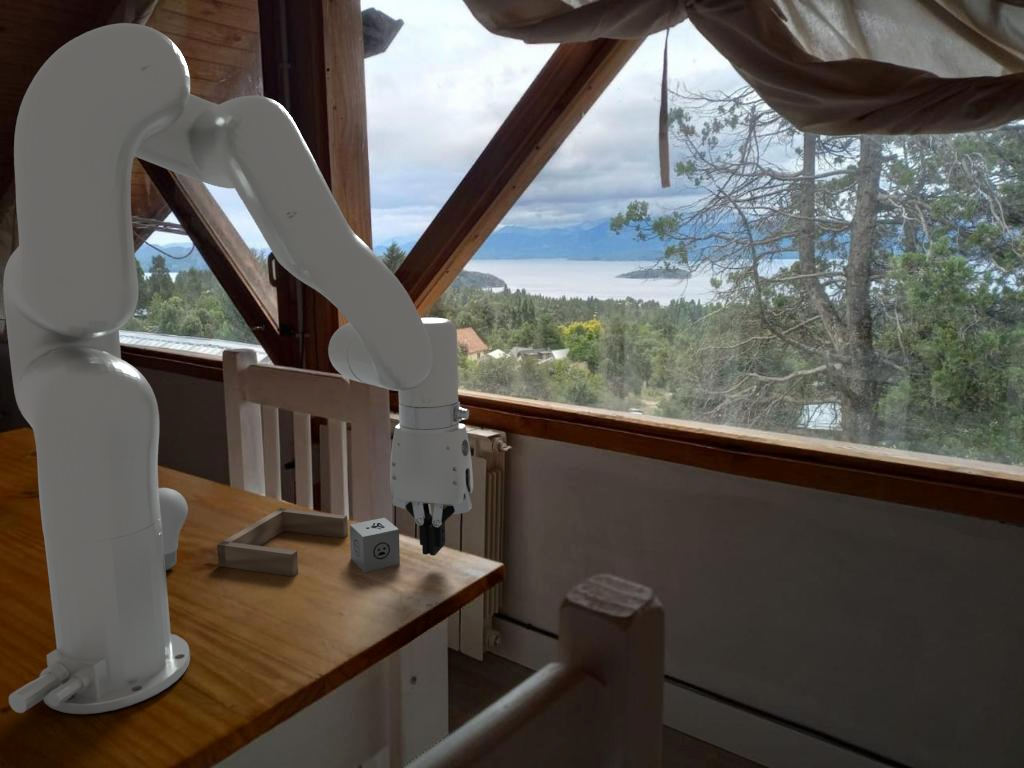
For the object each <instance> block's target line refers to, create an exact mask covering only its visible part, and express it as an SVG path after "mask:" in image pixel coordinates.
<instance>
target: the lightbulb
mask: <svg viewBox="0 0 1024 768" xmlns="http://www.w3.org/2000/svg"><path fill="white" fill-rule="evenodd" d="M158 489H159V502H160V514H161V523H162V535H163V547H164V559H165V571H169V570H170V569H171V568H173V567H174V566H175V565H176V564H177V563H178V561H177V559H178V557H177V556H178V554H177V550H178V548H179V536H180V533H181V530H182V529H183V527H184V524H185V522H186V519H187V517H188V512H189V508H188V507H189V506H188V503H187V500H186V498H185V497H184V496H183V495H182V494H181V493H180V492H178V491H177V490H175V489H172V488H169V487H158Z"/></svg>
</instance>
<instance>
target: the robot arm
mask: <svg viewBox="0 0 1024 768" xmlns="http://www.w3.org/2000/svg"><path fill="white" fill-rule="evenodd" d="M17 114H18V115H17V117H16V121H15V122H16V124H15V131H14V141H13V142H14V143H13V144H14V145H13V159H14V160H13V167H14V183H15V205H16V206H15V207H16V215H17V217H16V218H17V231H18V246H17V248H16V249H15V250H13V252H12V254H11V255H10V256H9V258H8V261H7V262H6V266H5V269H4V272H3V274H4V275H3V285H2V286H3V289H2V291H3V303H4V304H3V305H4V314H5V324H6V332H7V341H8V342H7V343H8V351H9V360H10V369H11V378H12V384H13V385H12V386H13V391H14V392H13V393H14V397H15V401H16V405H17V407H18V410H19V411H20V413H21V415H22V417H23V418H24V419H25V420H26V422H27V423H28V424H29V426H30V427H31V428H32V430H33V435H34V441H35V447H36V448H35V449H36V460H37V461H36V462H37V483H38V494H39V495H38V497H39V498H38V499H39V506H40V517H41V527H42V534H43V538H44V539H43V541H44V548H45V549H44V550H45V556H46V557H45V558H46V565H47V574H48V582H49V583H48V584H49V591H50V601H51V609H52V619H53V625H54V627H53V628H54V634H55V644H56V649H54V650H51V652H49V653H47V654H46V656H45V657H46V664H47V667H46V668H44V669H42V670H41V671H40V673H39V677H38V678H36V679H34V680H31V681H30V682H28V683H26V684H24V685H22V686H21V687H20V688H17V689H16V690H15V691H13V692H12V693H10V694H9V696H8V704H9V705H10V707H11V709H12V710H13V711H14V712H16V713H18V714H23V713H25V712H26V711H28V710H30V709H31V708H32V707H34V706H35V705H37V704H38V703H40V702H41V701H43V702H44V704H45V705H46V706H48V707H49V708H50V709H52V710H55V711H58V712H62V713H66V714H72V715H89V714H90V715H91V714H102V713H106V712H112V711H116V710H119V709H123V708H127V707H130V706H133V705H135V704H139V703H141V702H144V701H145V700H148V699H150V698H153V697H154V696H157V695H158V694H161V692H163V691H164V690H167V689H168V688H169V687H171V686H172V685H173V684H174V683H175V682H177V681H178V680H179V679H180V678H181V677H182V675H184V673H185V672H186V671H187V668H188V667H189V665H190V661H191V653H190V646H189V644H188V642H187V641H186V640H185V639H184V638H182V637H180V636H178V635H177V634H173V633H172V632H171V621H170V610H169V608H170V607H169V598H168V596H169V595H168V585H167V572H166V571H167V570H165V559H164V547H163V535H162V523H161V514H160V502H159V489H158V488H159V473H158V471H159V469H158V468H159V466H158V461H159V459H158V458H159V456H158V455H159V441H160V440H159V439H160V413H159V412H160V411H159V406H158V401H157V398H156V395H155V393H154V390H153V387H151V385H150V383H149V382H148V380H147V379H146V377H145V376H144V375H143V374H142V373H141V372H140V370H138V369H137V368H136V367H134V366H133V365H132V364H130V363H128V362H127V361H125V360H123V359H122V353H121V343H120V342H121V340H120V328H122V327H123V326H125V324H126V323H128V321H129V320H131V318H132V316H133V314H134V312H135V311H136V308H137V304H138V300H139V279H138V271H137V264H136V255H135V243H134V242H135V241H134V231H133V219H132V203H131V202H132V201H131V199H132V196H131V193H132V192H131V191H132V190H131V189H132V186H131V185H132V168H133V164H134V163H133V162H134V159H135V158H138V159H139V160H140V159H141V160H143V161H145V162H148V163H150V164H153V165H156V166H158V167H161V168H164V169H166V170H169V171H171V172H174V173H176V174H179V175H181V176H185V177H187V178H189V179H190V178H191V179H193V180H196V181H199V182H201V183H204V184H206V185H207V184H208V185H211V186H214V187H217V188H218V187H219V188H222V189H223V188H224V189H231V190H232V189H234V190H235V191H236V193H237V194H238V196H239V198H240V200H241V201H242V203H243V204H244V206H245V208H246V209H247V211H248V213H249V215H250V216H251V218H252V219H253V221H254V223H255V225H256V226H257V228H258V230H259V231H260V233H261V235H262V236H263V238H264V240H265V242H266V243H267V246H268V247H269V249H270V251H271V252H272V254H273V256H274V257H275V259H276V261H277V262H278V263H279V264H280V265H281V266H282V267H283V269H285V270H286V271H288V273H290V274H291V275H292V276H293V277H295V278H296V279H298V280H299V281H301V282H302V283H303V284H305V285H307V286H309V287H310V288H311V289H313V290H315V291H316V292H317V293H319V294H321V295H322V296H323V297H325V298H326V299H327V300H328V301H329V302H330V303H331V304H332V305H333V306H335V307H336V309H338V311H339V312H340V313H341V314H342V315H343V317H345V319H346V321H348V322H347V323H344V324H343V325H342V326H340V327H339V328H337V330H335V332H334V333H333V334H332V336H331V338H330V340H329V342H328V343H329V344H328V347H327V351H328V358H329V361H330V363H331V365H332V367H333V368H334V369H335V370H336V371H337V372H338V373H339V374H341V376H343V377H344V378H346V379H349V380H351V381H354V382H358V383H360V384H361V383H362V384H364V385H365V384H366V385H369V386H370V385H371V386H375V387H379V388H383V389H386V390H390V391H396V392H397V393H398V417H399V418H398V419H399V420H398V421H399V422H398V424H396V425H395V427H394V432H393V438H392V445H391V452H390V453H391V454H390V464H389V465H390V466H389V467H390V469H389V473H390V474H389V475H390V477H389V481H390V483H389V484H390V492H391V495H392V498H391V499H392V500H391V504H392V505H393V506H394V507H398V508H401V509H403V510H406V511H407V512H408V513H409V514H410V515H411V516H412V518H414V521H415V524H416V525H418V527H419V529H418V530H419V533H418V534H419V536H418V537H419V544H420V546H421V547H422V548H421V549H422V552H421V553H422V555H425V556H427V555H430V556H433V557H435V556H436V555H437V554H438V553H439V551H441V549H442V548H444V546H445V544H446V521H447V520H448V519H449V518H450V517H451V516H452V515H459V514H460V515H461V514H466V513H468V512H469V511H470V510H471V509H472V507H473V506H472V505H473V504H472V500H471V496H470V495H471V494H472V493H473V490H474V474H473V473H474V472H473V462H472V453H471V447H470V441H469V435H468V431H467V428H466V427H467V426H466V425H465V424H464V423H460V422H461V421H463V420H468V419H469V416H470V410H469V409H468V408H463V407H462V406H461V402H460V401H459V376H458V375H459V373H458V372H459V371H458V370H459V367H458V365H459V364H458V363H459V362H458V359H459V357H458V331H457V326H456V325H455V323H454V322H453V321H451V319H447V318H443V317H421V315H420V314H419V312H418V310H417V308H416V306H415V304H414V302H413V300H412V298H411V297H410V295H409V293H408V291H407V290H406V289H405V287H404V285H403V284H402V283H401V282H400V280H399V278H398V277H397V276H396V275H395V274H394V273H393V272H392V271H391V270H390V269H389V267H388V266H387V265H386V264H385V263H384V262H383V261H382V260H381V259H380V258H379V257H378V256H377V254H376V253H375V252H374V251H373V250H372V249H371V248H370V247H369V245H367V244H366V243H365V242H364V241H363V239H361V238H360V237H359V236H358V235H357V234H356V233H355V232H354V230H352V228H351V226H350V224H349V223H348V222H347V221H348V220H347V219H346V218H345V216H344V214H343V212H342V210H341V208H340V206H339V205H338V203H337V201H336V200H335V197H334V195H333V193H332V191H331V190H330V187H329V186H328V184H327V182H326V179H325V178H324V176H323V174H322V172H321V170H320V168H319V166H318V164H317V162H316V160H315V158H314V156H313V154H312V152H311V150H310V148H309V147H308V145H307V142H306V141H305V139H304V137H303V136H302V133H301V131H300V130H299V128H298V126H297V124H296V122H295V121H294V119H293V117H292V116H291V114H289V111H287V110H286V108H285V107H284V106H283V105H282V104H281V103H279V102H277V101H276V100H274V99H273V98H269V97H266V96H262V95H244V96H239V97H235V98H231V99H229V100H226V101H224V102H221V103H220V104H218V103H215V102H212V101H209V100H206V99H203V98H201V97H198V96H197V95H194V94H192V93H191V76H190V72H189V68H188V65H187V62H186V59H185V57H184V56H183V54H182V52H181V50H180V49H179V48H178V46H177V45H176V44H175V42H173V40H172V39H170V38H169V37H168V36H167V35H165V34H164V33H162V32H160V31H159V30H158V29H155V28H154V27H150V26H148V25H144V24H140V23H139V24H138V23H130V22H129V23H128V22H119V23H114V24H113V23H112V24H107V25H103V26H100V27H97V28H94V29H92V30H89V31H86V32H84V33H82V34H80V35H79V36H76V37H73V39H71V40H69V41H68V42H66V43H65V44H64V45H62V46H61V47H59V48H58V49H57V50H56V51H54V53H52V54H51V55H50V57H48V59H47V60H45V62H44V63H43V65H42V66H41V67H40V68H39V70H38V71H37V73H36V74H35V75H34V77H33V78H32V81H31V82H30V84H29V86H28V88H27V90H26V92H25V94H24V96H23V99H22V101H21V103H20V106H19V110H18V113H17ZM431 505H433V512H432V509H431Z"/></svg>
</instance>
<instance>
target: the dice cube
mask: <svg viewBox="0 0 1024 768" xmlns="http://www.w3.org/2000/svg"><path fill="white" fill-rule="evenodd" d="M349 537H350V538H349V541H350V544H349V545H350V559H351V560H352V562H353V563H354V564H355V565H356V566H357V567H358V568H359V569H360V570H361V571H362V572H363V573H369V572H372V571H377V570H381V569H385V568H389V567H392V566H393V567H394V566H397V565H400V564H401V562H400V561H401V557H400V556H401V555H400V554H401V553H400V552H401V551H400V528H398V527H397V526H395V524H393V523H392V522H391V521H389V520H388V519H387V518H386V517H381V518H376V519H371V520H370V519H369V520H365V521H362V522H356V523H350V524H349Z"/></svg>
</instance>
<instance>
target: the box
mask: <svg viewBox="0 0 1024 768" xmlns="http://www.w3.org/2000/svg"><path fill="white" fill-rule="evenodd" d="M282 532H291V533H292V532H293V533H300V534H309V535H316V536H324V537H325V536H326V537H334V538H341V539H345V538H346V537H347V536H348V535H349V529H348V515H346V514H345V515H344V514H337V513H336V514H335V513H327V512H317V511H308V510H299V509H292V508H283V507H282V508H281V507H279V508H278V509H277V510H275V511H273V512H271V513H270V514H268V515H266V516H264V517H263V518H261V519H259V520H258V521H255V522H254V523H252V524H250V525H248V526H247V527H245V528H243V529H242V530H239V532H236V533H234V534H233V535H231V536H229V537H228V538H226V539H225V540H223V541H221V542H219V543H217V544H216V550H217V562H218V567H223V568H231V569H238V570H245V571H250V572H251V571H252V572H259V573H266V574H274V575H280V576H287V577H294V576H296V575H297V574H298V573H299V561H298V559H299V558H298V550H294V549H286V548H279V547H270V546H264V544H265V543H267V542H268V541H270V540H271V539H274V538H275V537H276V536H278V535H279V534H281V533H282Z"/></svg>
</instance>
